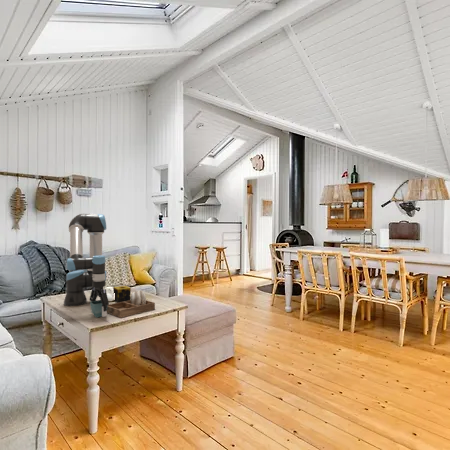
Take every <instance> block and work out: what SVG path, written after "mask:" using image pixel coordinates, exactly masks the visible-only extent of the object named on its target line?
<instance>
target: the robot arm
mask: <svg viewBox="0 0 450 450" xmlns="http://www.w3.org/2000/svg"><path fill="white" fill-rule="evenodd" d="M106 230H107V221H106V217H105V214H102V213H79V214H77V215H76V216H74V217H73V218H72V219H71V220H70V222H69V224H68V233H69V235H70V237H69V242H70V243H69V257H68V258H66V270H68V271H70V272H68V273H67V274H66V278H65V281H66V294H65V297H64V300H63V305H64V306H68V307H74V306H81V305H82V306H83V305H85V304H87V302H88V299H87V296H86V294H85V289H91V292H90V296H89V302H91V301H97V298H98V297H99V298H100V300H101V302H102V318H104V317H107V316H108V313H107V305H110V302H109V298H108V295H107V294H108V293H107V289H106V288H104V287H105V286H106V280H107V271H106V256H105V255H103V234H104V233H105V231H106ZM84 231H86V232H87V234H88V235H89V257H83V256H84V255H83V253H84V251H83V245H84V244H83V232H84ZM85 270H87V271H85ZM90 313H92V311H91V312H90ZM92 314H93V313H92Z"/></svg>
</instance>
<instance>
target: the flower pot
mask: <svg viewBox="0 0 450 450" xmlns="http://www.w3.org/2000/svg"><path fill="white" fill-rule="evenodd" d="M89 306H90V310H91V311H92V315H93V316H94V317H95V318H100V317H102V302H101V299H100V300H96V301H89ZM107 306H108V305H107ZM102 318H103V317H102Z"/></svg>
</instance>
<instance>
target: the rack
mask: <svg viewBox="0 0 450 450" xmlns="http://www.w3.org/2000/svg"><path fill="white" fill-rule="evenodd" d="M130 297H131V299H130V300H129V301H124V302H119V303H117V302H114V303H109V305H108V306H107V314H109V315H112V316H114V317H117V318H119V319H121V318H125V317H129V316H133V315H137V314H140V313H141V314H142V313H145V312H149V311H153V310H155V309H156V307H155V306H156V303H155V302H154V301H151V300H148V299H147V298H146V297H147V296H146V294H145V292H144V291H143V290H138V291H133V292H132V293H130Z"/></svg>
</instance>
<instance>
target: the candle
mask: <svg viewBox="0 0 450 450" xmlns="http://www.w3.org/2000/svg"><path fill="white" fill-rule="evenodd" d="M131 289H132V288H131V287H129V286H127V285H122V286H114V287H113V289H112V290H113V294H114V293H115V301H114V303H119V302H124V301H129V300H131V294H132V293H131V292H132V291H131Z"/></svg>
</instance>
